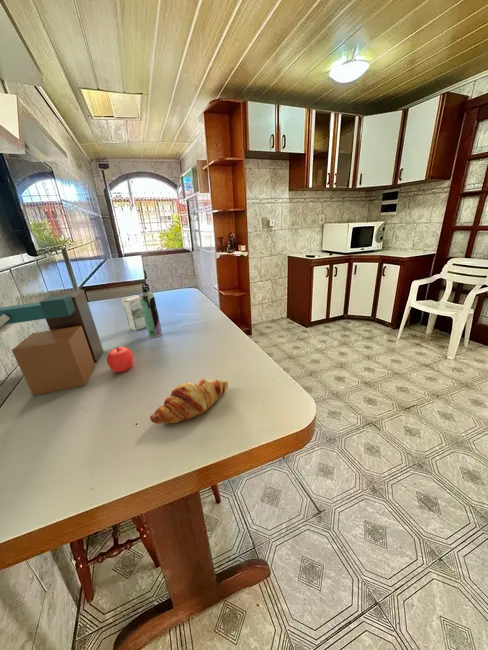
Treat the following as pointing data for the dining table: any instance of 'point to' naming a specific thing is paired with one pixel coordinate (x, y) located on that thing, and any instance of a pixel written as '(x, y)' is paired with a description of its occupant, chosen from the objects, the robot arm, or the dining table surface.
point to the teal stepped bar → (40, 309)
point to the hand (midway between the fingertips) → (13, 312)
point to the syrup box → (134, 312)
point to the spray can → (150, 313)
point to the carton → (55, 360)
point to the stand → (79, 321)
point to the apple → (120, 359)
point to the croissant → (189, 401)
